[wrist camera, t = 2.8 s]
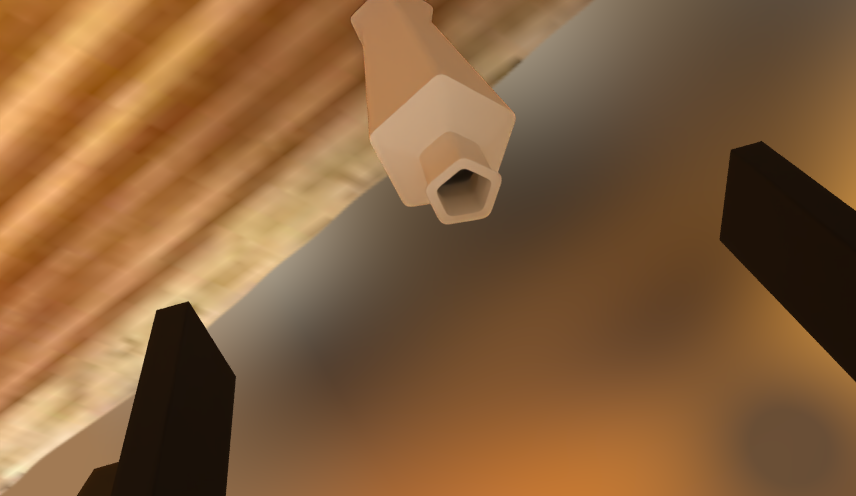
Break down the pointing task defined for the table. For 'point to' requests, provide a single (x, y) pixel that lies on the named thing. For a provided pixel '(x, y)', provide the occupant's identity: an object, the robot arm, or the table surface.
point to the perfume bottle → (430, 112)
